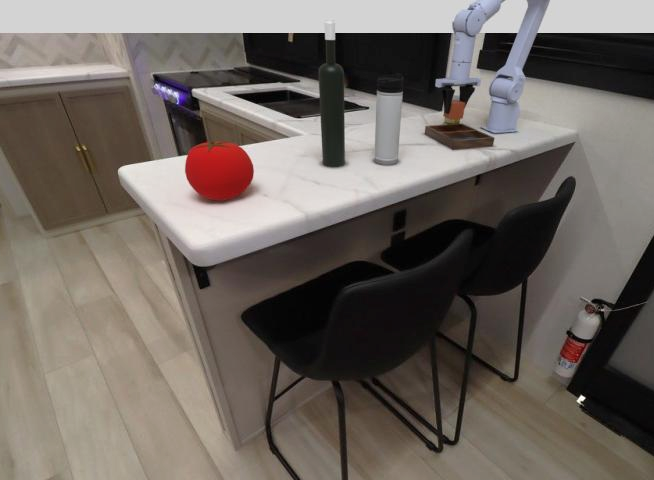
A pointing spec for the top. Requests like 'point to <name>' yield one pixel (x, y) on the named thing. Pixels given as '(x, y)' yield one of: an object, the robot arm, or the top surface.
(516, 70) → the robot arm
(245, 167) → the tomato
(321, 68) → the wine bottle
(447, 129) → the sorting tray
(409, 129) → the top surface
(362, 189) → the top surface
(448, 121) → the supplement bottle
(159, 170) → the top surface
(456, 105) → the terracotta block
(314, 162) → the top surface
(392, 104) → the travel mug
